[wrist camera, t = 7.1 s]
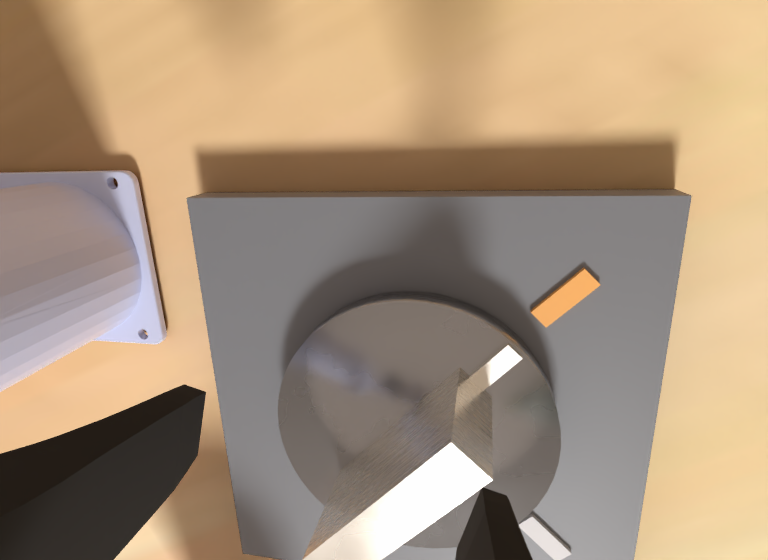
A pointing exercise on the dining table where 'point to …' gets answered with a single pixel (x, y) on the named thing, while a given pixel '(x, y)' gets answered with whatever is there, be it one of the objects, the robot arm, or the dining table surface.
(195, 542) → the dining table surface
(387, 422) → the dial
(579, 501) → the dial base
